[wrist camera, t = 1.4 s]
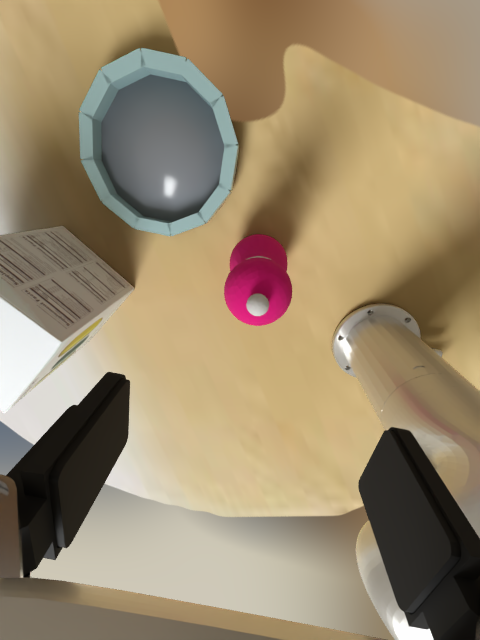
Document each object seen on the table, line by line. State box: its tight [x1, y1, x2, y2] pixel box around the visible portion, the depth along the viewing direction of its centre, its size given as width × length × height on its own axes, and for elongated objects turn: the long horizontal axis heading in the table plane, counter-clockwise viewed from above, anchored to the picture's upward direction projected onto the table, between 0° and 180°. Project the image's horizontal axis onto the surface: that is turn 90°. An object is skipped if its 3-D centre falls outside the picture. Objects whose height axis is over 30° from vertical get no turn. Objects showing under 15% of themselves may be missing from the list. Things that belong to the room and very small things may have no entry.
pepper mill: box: [224, 234, 292, 326], centre depth 31 cm, size 7×7×20 cm
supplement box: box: [0, 226, 134, 413], centre depth 35 cm, size 13×13×18 cm
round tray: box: [79, 48, 239, 236], centre depth 34 cm, size 18×18×3 cm
